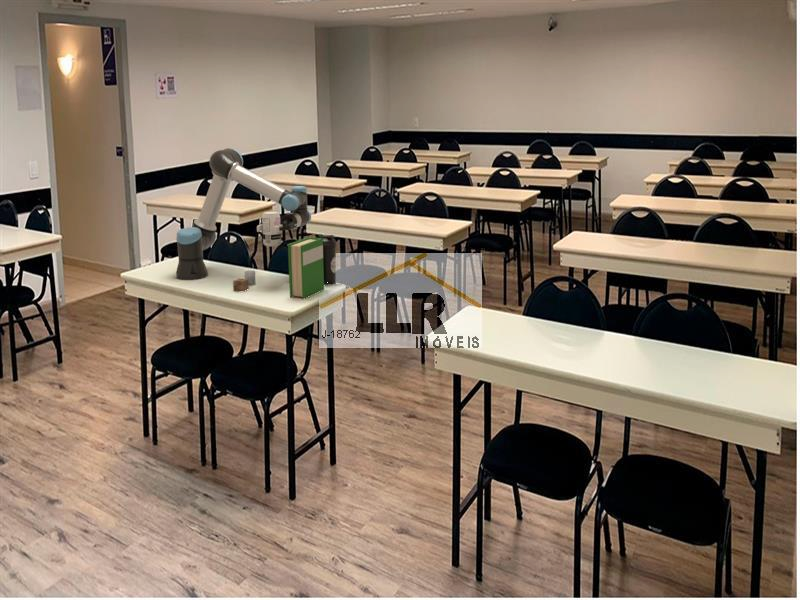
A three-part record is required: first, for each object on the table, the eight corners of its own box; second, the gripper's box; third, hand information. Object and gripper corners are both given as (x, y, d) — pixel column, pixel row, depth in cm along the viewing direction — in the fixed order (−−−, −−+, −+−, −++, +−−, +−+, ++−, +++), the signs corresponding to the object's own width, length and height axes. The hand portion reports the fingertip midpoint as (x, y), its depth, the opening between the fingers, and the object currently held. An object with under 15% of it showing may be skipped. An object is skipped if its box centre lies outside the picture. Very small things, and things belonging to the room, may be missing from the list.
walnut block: (233, 291, 340) (232, 280, 339) (239, 288, 345) (238, 278, 344) (243, 292, 339) (242, 281, 337) (248, 289, 343) (248, 279, 342)
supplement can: (264, 243, 346) (262, 211, 342) (281, 242, 347) (280, 211, 343) (262, 246, 338) (260, 214, 334) (280, 246, 339) (279, 214, 335)
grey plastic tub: (243, 284, 351) (242, 272, 349) (247, 282, 355) (246, 270, 354) (253, 285, 350) (252, 272, 348) (257, 283, 354) (256, 270, 353)
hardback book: (304, 298, 328) (302, 245, 321) (289, 297, 330) (287, 244, 324) (324, 289, 343) (322, 238, 337) (310, 287, 346) (308, 237, 339)
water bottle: (334, 286, 349) (332, 237, 343) (313, 284, 351) (311, 237, 345) (339, 280, 359) (338, 233, 352) (319, 279, 361) (318, 233, 354)
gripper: (310, 230, 354) (287, 239, 334) (271, 227, 361) (246, 236, 341) (309, 215, 352) (286, 222, 332) (270, 212, 359) (245, 219, 339)
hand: (266, 229), depth 336 cm, fingers closed on supplement can, 8 cm apart
